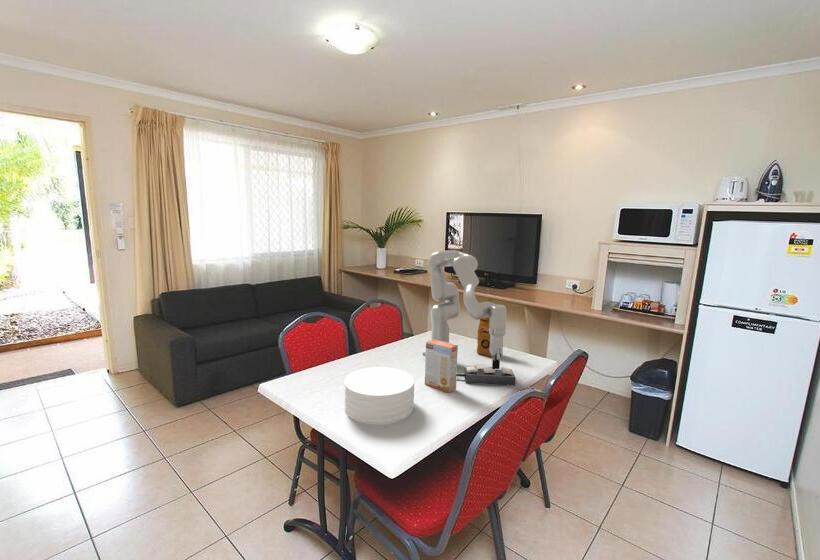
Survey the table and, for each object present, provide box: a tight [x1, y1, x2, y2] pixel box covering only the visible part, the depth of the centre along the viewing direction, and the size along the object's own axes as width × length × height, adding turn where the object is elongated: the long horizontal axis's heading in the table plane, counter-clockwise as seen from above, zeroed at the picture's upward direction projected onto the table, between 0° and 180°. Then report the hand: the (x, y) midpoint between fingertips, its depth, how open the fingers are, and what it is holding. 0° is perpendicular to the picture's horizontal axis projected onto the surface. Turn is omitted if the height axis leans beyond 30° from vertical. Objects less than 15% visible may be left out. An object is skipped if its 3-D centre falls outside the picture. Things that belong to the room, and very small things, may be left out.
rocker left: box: [465, 365, 479, 373], centre depth 185 cm, size 5×4×1 cm
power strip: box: [456, 367, 517, 387], centre depth 185 cm, size 29×9×5 cm, turn 86°
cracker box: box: [424, 339, 459, 393], centre depth 175 cm, size 14×6×21 cm, turn 49°
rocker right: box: [500, 366, 514, 375], centre depth 184 cm, size 5×4×1 cm
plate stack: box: [343, 366, 415, 425], centre depth 156 cm, size 28×28×12 cm
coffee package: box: [476, 317, 493, 358], centre depth 221 cm, size 10×12×22 cm
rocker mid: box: [482, 366, 496, 373], centre depth 184 cm, size 5×4×1 cm
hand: (495, 368), depth 184 cm, fingers closed
